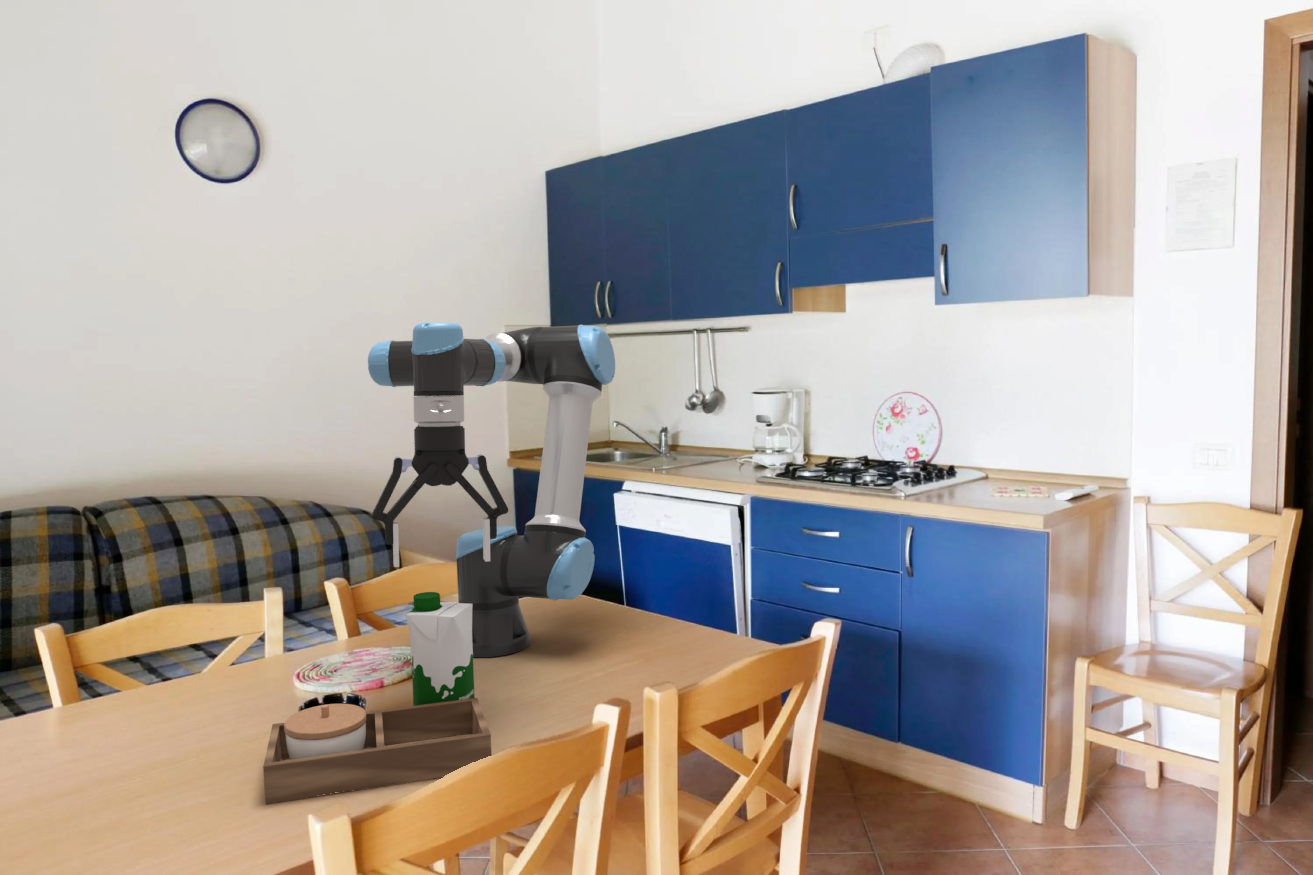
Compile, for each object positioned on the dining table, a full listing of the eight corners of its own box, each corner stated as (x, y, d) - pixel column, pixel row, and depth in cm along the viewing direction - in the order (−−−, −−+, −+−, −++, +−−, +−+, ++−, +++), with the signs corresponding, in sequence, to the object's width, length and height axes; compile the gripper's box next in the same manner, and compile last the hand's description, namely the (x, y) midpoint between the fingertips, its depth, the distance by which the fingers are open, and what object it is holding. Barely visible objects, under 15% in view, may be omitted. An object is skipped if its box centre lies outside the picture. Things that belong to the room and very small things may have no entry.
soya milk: (430, 708, 155) (424, 587, 153) (482, 711, 153) (478, 589, 151) (405, 729, 146) (399, 601, 144) (460, 733, 144) (455, 603, 143)
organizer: (274, 757, 137) (272, 723, 137) (478, 729, 146) (477, 697, 145) (265, 804, 123) (263, 766, 122) (492, 769, 131) (490, 734, 131)
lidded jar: (299, 757, 137) (296, 693, 136) (376, 753, 138) (372, 690, 137) (276, 791, 126) (272, 722, 126) (359, 786, 127) (355, 718, 126)
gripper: (353, 427, 138) (357, 572, 139) (524, 423, 146) (527, 561, 147) (353, 425, 145) (357, 563, 147) (517, 422, 153) (519, 553, 154)
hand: (442, 562), depth 147 cm, fingers open, 13 cm apart
